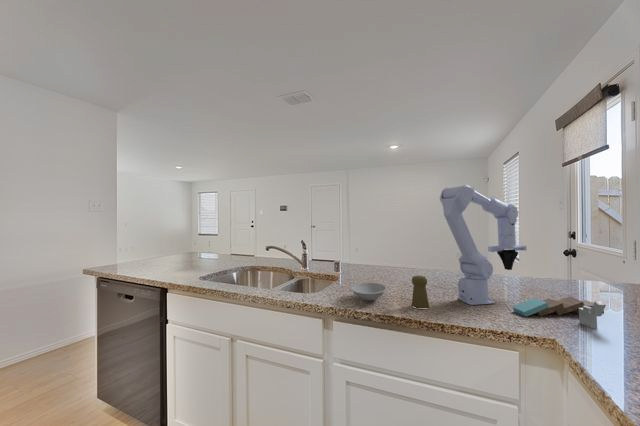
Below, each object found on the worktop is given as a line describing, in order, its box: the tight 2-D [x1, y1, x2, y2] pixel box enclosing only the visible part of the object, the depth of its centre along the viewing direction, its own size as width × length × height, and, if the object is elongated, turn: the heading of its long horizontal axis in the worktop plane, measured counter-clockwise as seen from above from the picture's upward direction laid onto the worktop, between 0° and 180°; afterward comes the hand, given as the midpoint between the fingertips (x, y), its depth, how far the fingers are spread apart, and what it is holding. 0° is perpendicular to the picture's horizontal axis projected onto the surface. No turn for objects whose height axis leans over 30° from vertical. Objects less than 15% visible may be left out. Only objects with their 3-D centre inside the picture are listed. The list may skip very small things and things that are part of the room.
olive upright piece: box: [411, 275, 430, 309], centre depth 98 cm, size 6×6×11 cm
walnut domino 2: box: [552, 296, 585, 316], centre depth 87 cm, size 2×5×8 cm
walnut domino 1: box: [533, 298, 564, 317], centre depth 87 cm, size 2×5×8 cm
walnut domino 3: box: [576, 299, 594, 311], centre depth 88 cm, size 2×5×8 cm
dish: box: [350, 281, 388, 301], centre depth 108 cm, size 18×14×5 cm
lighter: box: [578, 300, 607, 329], centre depth 76 cm, size 7×2×8 cm, turn 172°
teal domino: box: [512, 297, 549, 317], centre depth 88 cm, size 2×5×8 cm
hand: (508, 269), depth 107 cm, fingers closed
